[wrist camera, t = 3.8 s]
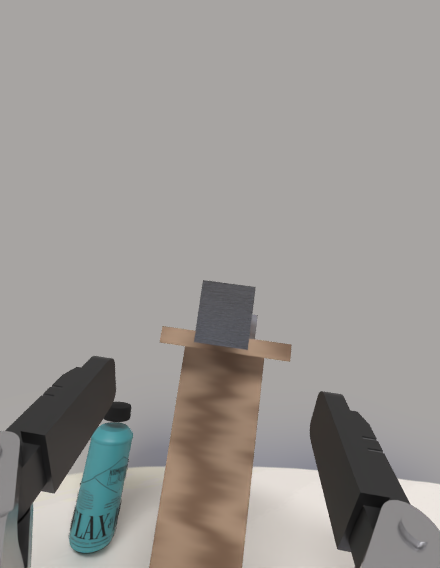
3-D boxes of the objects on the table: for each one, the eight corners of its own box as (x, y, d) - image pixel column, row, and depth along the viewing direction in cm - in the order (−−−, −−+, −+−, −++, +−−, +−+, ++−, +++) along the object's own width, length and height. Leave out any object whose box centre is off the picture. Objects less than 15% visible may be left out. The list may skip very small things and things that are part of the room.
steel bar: (240, 333, 32) (243, 304, 33) (247, 350, 15) (255, 287, 15) (215, 329, 33) (219, 301, 33) (194, 342, 15) (203, 280, 15)
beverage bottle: (53, 557, 37) (87, 404, 40) (86, 526, 43) (113, 395, 47) (94, 574, 35) (125, 412, 39) (122, 539, 41) (147, 403, 45)
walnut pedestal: (265, 628, 31) (292, 326, 38) (300, 917, 16) (335, 319, 23) (119, 596, 33) (170, 309, 39) (15, 834, 17) (129, 291, 24)
